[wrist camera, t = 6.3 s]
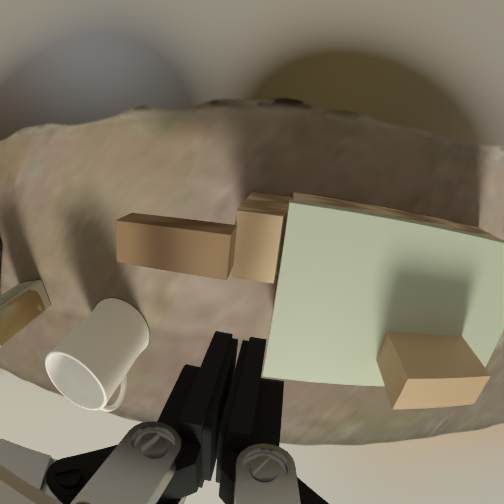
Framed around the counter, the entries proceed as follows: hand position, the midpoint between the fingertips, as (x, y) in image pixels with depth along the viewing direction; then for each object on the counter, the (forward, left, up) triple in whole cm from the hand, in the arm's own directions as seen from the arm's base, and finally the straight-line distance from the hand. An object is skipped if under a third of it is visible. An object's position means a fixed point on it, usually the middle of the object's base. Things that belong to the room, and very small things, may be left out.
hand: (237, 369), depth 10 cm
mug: (+17, +18, -23) cm, 34 cm away
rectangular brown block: (+6, 0, -13) cm, 14 cm away
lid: (-13, +4, -14) cm, 20 cm away
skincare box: (+33, +15, -23) cm, 43 cm away
